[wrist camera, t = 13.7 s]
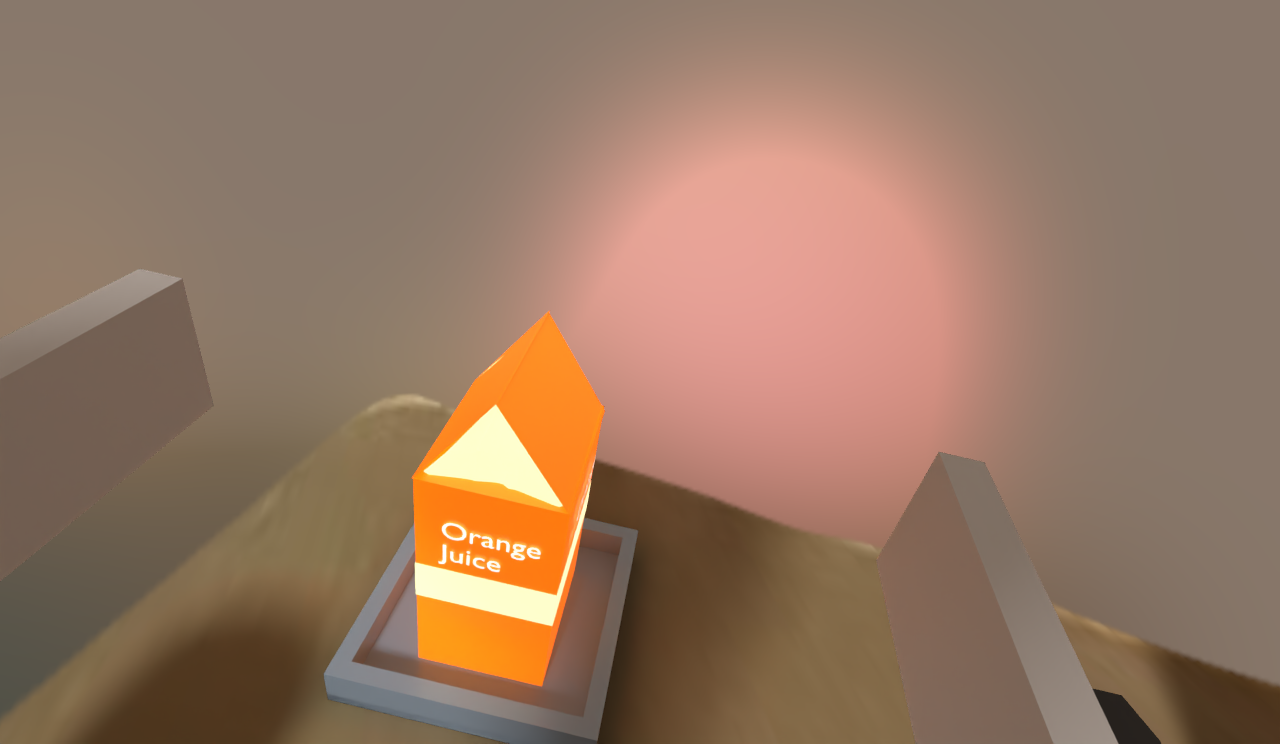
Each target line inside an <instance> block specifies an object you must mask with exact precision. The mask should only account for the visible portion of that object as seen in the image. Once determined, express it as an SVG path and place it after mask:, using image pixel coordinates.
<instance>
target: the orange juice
mask: <svg viewBox="0 0 1280 744" xmlns="http://www.w3.org/2000/svg"><path fill="white" fill-rule="evenodd" d="M604 412H605V410H604V406H602V405H601V403H600V402H599V400H598V398H597V396H596V395H595V393H594V391H593V389H592V387H591V386H590V384H589V382H588V380H587V379H586V377H585V375H584V374H583V372H582V370H581V368H580V367H579V365H578V363H577V361H576V359H575V358H574V356H573V354H572V352H571V351H570V349H569V347H568V345H567V344H566V342H565V340H564V338H563V337H562V335H561V333H560V331H559V330H558V328H557V326H556V324H555V322H554V321H553V319H552V317H551V316H550V314H549V312H547V313H546V314H545V315H544V316H543V317H542V318H541V319H540V320H539V321H538V322H537V323H536V324H535V325H534V326H533V327H531V328H530V329H529V330H528V331H527V332H526V333H525V334H524V335H523V336H522V337H521V338H520V339H519V340H518V341H516V342H515V343H514V344H513V345H512V346H511V347H510V348H509V349H508V350H507V351H506V352H505V353H504V354H502V355H501V356H500V357H499V358H498V359H497V360H496V361H495V362H494V363H493V364H492V365H491V366H490V367H488V368H487V369H486V370H485V371H484V372H483V373H482V374H481V375H480V376H479V377H478V378H477V379H476V380H475V381H474V383H473V384H472V386H471V387H470V389H469V391H468V392H467V394H466V395H465V397H464V398H463V400H462V401H461V403H460V404H459V406H458V407H457V409H456V410H455V412H454V413H453V415H452V417H451V418H450V420H449V421H448V423H447V424H446V426H445V427H444V429H443V430H442V432H441V434H440V435H439V437H438V438H437V440H436V441H435V443H434V444H433V446H432V447H431V449H430V450H429V452H428V454H427V455H426V457H425V458H424V460H423V461H422V463H421V464H420V466H419V467H418V469H417V471H416V472H415V474H414V475H413V477H414V476H415V477H414V478H413V477H412V478H413V488H414V521H415V554H416V562H415V588H416V594H417V620H418V653H419V658H424V659H428V660H432V661H436V662H440V663H445V664H449V665H453V666H457V667H462V668H466V669H470V670H474V671H479V672H483V673H487V674H491V675H496V676H500V677H504V678H508V679H513V680H517V681H521V682H525V683H529V684H534V685H538V686H542V684H543V681H544V677H545V674H546V670H547V666H548V663H549V659H550V656H551V652H552V649H553V645H554V642H555V638H556V634H557V631H558V627H559V624H560V620H561V617H562V613H563V609H564V606H565V602H566V599H567V595H568V592H569V588H570V584H571V581H572V577H573V574H574V570H575V565H576V560H577V554H578V549H579V543H580V537H581V532H582V526H583V521H584V515H585V512H586V508H587V502H588V497H589V491H590V486H591V477H592V471H593V467H594V462H595V455H596V449H597V443H598V438H599V433H600V427H601V422H602V418H603V415H604ZM412 478H411V479H412Z"/></svg>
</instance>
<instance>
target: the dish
mask: <svg viewBox="0 0 1280 744" xmlns="http://www.w3.org/2000/svg"><path fill="white" fill-rule="evenodd" d="M637 535H638V530H634V529H630V528H626V527H621V526H617V525H613V524H609V523H604V522H600V521H596V520H592V519H587V518H584V521H583V526H582V532H581V537H580V543H579V549H578V554H577V560H576V565H575V570H574V574H573V577H572V581H571V584H570V588H569V592H568V595H567V599H566V602H565V606H564V609H563V613H562V617H561V620H560V624H559V627H558V631H557V634H556V638H555V642H554V645H553V649H552V652H551V656H550V659H549V663H548V666H547V670H546V674H545V677H544V681H543V684H542V686H538V685H534V684H529V683H525V682H521V681H517V680H513V679H508V678H504V677H500V676H496V675H491V674H487V673H483V672H479V671H474V670H470V669H466V668H462V667H457V666H453V665H449V664H445V663H440V662H436V661H432V660H428V659H424V658H419V653H418V620H417V594H416V588H415V562H416V554H415V523H414V524H413V526H412V528H411V529H410V531H409V533H408V534H407V536H406V538H405V539H404V541H403V543H402V544H401V546H400V548H399V549H398V551H397V553H396V554H395V556H394V558H393V559H392V561H391V563H390V564H389V566H388V568H387V569H386V571H385V573H384V574H383V576H382V578H381V579H380V581H379V583H378V584H377V586H376V588H375V589H374V591H373V593H372V594H371V596H370V598H369V599H368V601H367V603H366V604H365V606H364V608H363V609H362V611H361V613H360V614H359V616H358V618H357V619H356V621H355V623H354V624H353V626H352V628H351V629H350V631H349V633H348V634H347V636H346V638H345V639H344V641H343V643H342V644H341V646H340V648H339V649H338V651H337V653H336V654H335V656H334V658H333V659H332V661H331V663H330V664H329V666H328V668H327V669H326V671H325V673H324V679H325V685H326V690H327V696H328V699H329V700H333V701H337V702H341V703H345V704H350V705H354V706H358V707H362V708H366V709H370V710H374V711H378V712H382V713H386V714H391V715H395V716H399V717H403V718H407V719H411V720H415V721H419V722H423V723H427V724H432V725H436V726H440V727H444V728H448V729H452V730H456V731H460V732H464V733H468V734H473V735H477V736H481V737H485V738H489V739H493V740H497V741H501V742H505V743H509V744H597V740H598V735H599V730H600V725H601V720H602V715H603V709H604V704H605V699H606V694H607V689H608V684H609V679H610V674H611V668H612V663H613V658H614V653H615V648H616V643H617V638H618V632H619V627H620V622H621V617H622V612H623V607H624V602H625V596H626V591H627V586H628V581H629V576H630V571H631V566H632V560H633V555H634V550H635V545H636V540H637Z"/></svg>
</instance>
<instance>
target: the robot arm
mask: <svg viewBox="0 0 1280 744" xmlns="http://www.w3.org/2000/svg"><path fill="white" fill-rule="evenodd" d="M211 407H213V401H212V397H211V393H210V389H209V385H208V381H207V377H206V373H205V369H204V364H203V360H202V356H201V352H200V348H199V344H198V340H197V336H196V332H195V328H194V324H193V320H192V316H191V312H190V308H189V304H188V300H187V295H186V292H185V287H184V283H183V279H182V278H177V277H173V276H169V275H164V274H160V273H155V272H151V271H147V270H142V269H138V270H136V271H134V272H132V273H130V274H128V275H126V276H125V277H122V278H120V279H118V280H116V281H114V282H112V283H110V284H108V285H106V286H104V287H102V288H100V289H98V290H96V291H94V292H92V293H90V294H88V295H86V296H84V297H82V298H80V299H78V300H76V301H74V302H72V303H70V304H68V305H66V306H64V307H62V308H60V309H58V310H56V311H54V312H52V313H50V314H48V315H46V316H44V317H42V318H40V319H38V320H36V321H34V322H32V323H30V324H28V325H26V326H24V327H22V328H20V329H18V330H16V331H14V332H12V333H10V334H8V335H6V336H4V337H2V338H0V581H1V580H2V579H4V578H5V577H6V576H7V575H8V574H10V573H11V572H12V571H13V570H15V569H16V568H17V567H18V566H19V565H21V564H22V563H23V562H24V561H25V560H27V559H28V558H29V557H30V556H32V555H33V554H34V553H35V552H36V551H38V550H39V549H40V548H41V547H43V546H44V545H45V544H46V543H47V542H48V541H50V540H51V539H52V538H53V537H55V536H56V535H57V534H58V533H59V532H61V531H62V530H63V529H64V528H66V527H67V526H68V525H69V524H70V523H72V522H73V521H74V520H75V519H77V518H78V517H79V516H80V515H81V514H83V513H84V512H85V511H86V510H87V509H89V508H90V507H91V506H92V505H94V504H95V503H96V502H97V501H98V500H100V499H101V498H102V497H103V496H105V495H106V494H107V493H108V492H109V491H110V490H112V489H113V488H114V487H115V486H117V485H118V484H119V483H120V482H122V481H123V480H124V479H125V478H126V477H128V476H129V475H130V474H131V473H132V472H134V471H135V470H136V469H137V468H139V467H140V466H141V465H142V464H143V463H145V462H146V461H147V460H148V459H149V458H151V457H152V456H153V455H154V454H156V453H157V452H158V451H159V450H160V449H162V447H164V446H165V445H166V444H168V443H169V442H170V441H171V440H172V439H174V438H175V437H176V436H177V435H179V434H180V433H181V432H182V431H183V430H185V429H186V428H187V427H188V426H190V425H191V424H192V423H193V422H194V421H196V420H197V419H198V418H199V417H200V416H202V415H203V414H204V413H205V412H207V411H208V410H209V409H210V408H211ZM876 561H877V566H878V571H879V575H880V580H881V585H882V589H883V594H884V599H885V603H886V608H887V612H888V617H889V622H890V626H891V631H892V636H893V640H894V645H895V650H896V654H897V659H898V663H899V668H900V673H901V677H902V682H903V687H904V691H905V696H906V701H907V705H908V710H909V714H910V719H911V724H912V728H913V733H914V738H915V742H916V744H1161V742H1160V740H1159V739H1158V738H1157V737H1156V736H1155V734H1154V733H1153V732H1152V731H1151V730H1150V728H1149V727H1148V726H1147V725H1146V724H1145V722H1144V721H1143V720H1142V719H1141V718H1140V717H1139V715H1138V714H1137V713H1136V712H1135V711H1134V709H1133V708H1132V707H1131V706H1130V705H1129V704H1128V702H1127V701H1126V700H1125V699H1124V698H1123V696H1122V695H1118V694H1113V693H1109V692H1105V691H1101V690H1096V689H1092V687H1091V685H1090V683H1089V681H1088V679H1087V677H1086V675H1085V672H1084V670H1083V668H1082V666H1081V664H1080V662H1079V660H1078V658H1077V656H1076V654H1075V651H1074V649H1073V647H1072V645H1071V643H1070V641H1069V639H1068V637H1067V635H1066V633H1065V630H1064V628H1063V626H1062V624H1061V622H1060V620H1059V618H1058V616H1057V614H1056V612H1055V609H1054V607H1053V605H1052V603H1051V601H1050V599H1049V597H1048V595H1047V593H1046V591H1045V588H1044V587H1043V584H1042V582H1041V580H1040V578H1039V576H1038V574H1037V572H1036V570H1035V568H1034V565H1033V563H1032V561H1031V559H1030V557H1029V555H1028V553H1027V551H1026V549H1025V546H1024V544H1023V542H1022V540H1021V538H1020V536H1019V534H1018V532H1017V530H1016V528H1015V526H1014V523H1013V521H1012V519H1011V517H1010V515H1009V513H1008V511H1007V509H1006V507H1005V505H1004V502H1003V500H1002V498H1001V496H1000V494H999V492H998V490H997V488H996V486H995V483H994V481H993V479H992V477H991V475H990V473H989V471H988V469H987V467H986V465H985V463H984V462H981V461H977V460H972V459H968V458H963V457H959V456H955V455H950V454H946V453H941V452H939V453H938V454H937V456H936V458H935V460H934V462H933V463H932V465H931V467H930V468H929V470H928V472H927V473H926V475H925V477H924V479H923V481H922V482H921V484H920V486H919V487H918V489H917V491H916V493H915V494H914V496H913V498H912V499H911V501H910V503H909V505H908V506H907V508H906V510H905V512H904V513H903V515H902V517H901V519H900V520H899V522H898V524H897V526H896V527H895V529H894V531H893V532H892V534H891V536H890V538H889V539H888V541H887V543H886V545H885V546H884V548H883V550H882V551H881V553H880V555H879V557H878V558H877V560H876Z"/></svg>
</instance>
